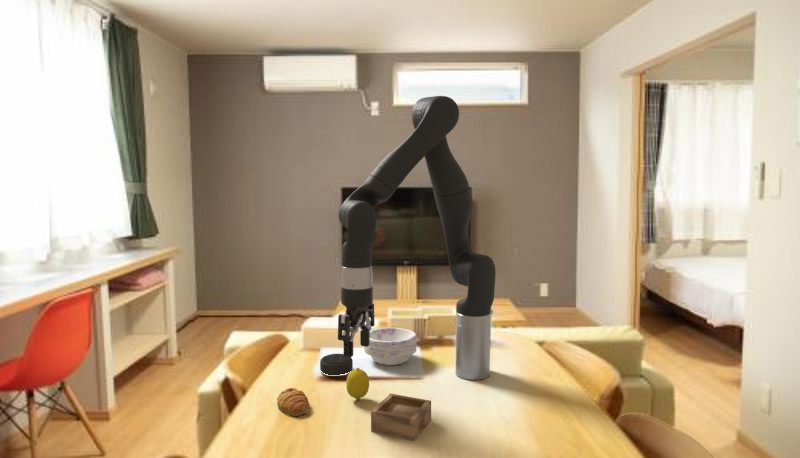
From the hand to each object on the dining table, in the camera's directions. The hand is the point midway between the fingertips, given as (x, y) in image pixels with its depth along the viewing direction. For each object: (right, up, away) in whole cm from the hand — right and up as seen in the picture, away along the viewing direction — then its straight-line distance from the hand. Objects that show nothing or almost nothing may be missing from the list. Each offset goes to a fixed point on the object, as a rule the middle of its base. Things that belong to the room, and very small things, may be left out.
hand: (357, 350), depth 132 cm
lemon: (0, -12, +2) cm, 13 cm away
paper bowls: (+8, -9, +29) cm, 31 cm away
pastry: (-14, -13, -2) cm, 20 cm away
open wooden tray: (+11, -14, -12) cm, 21 cm away
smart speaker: (-7, -11, +20) cm, 24 cm away
